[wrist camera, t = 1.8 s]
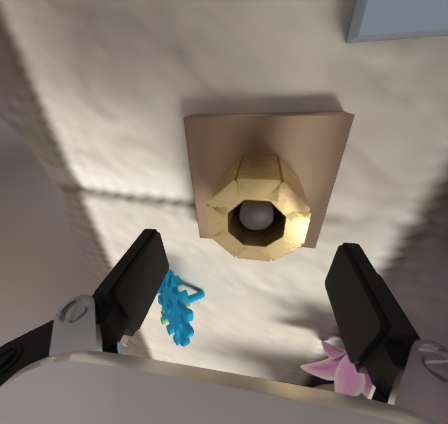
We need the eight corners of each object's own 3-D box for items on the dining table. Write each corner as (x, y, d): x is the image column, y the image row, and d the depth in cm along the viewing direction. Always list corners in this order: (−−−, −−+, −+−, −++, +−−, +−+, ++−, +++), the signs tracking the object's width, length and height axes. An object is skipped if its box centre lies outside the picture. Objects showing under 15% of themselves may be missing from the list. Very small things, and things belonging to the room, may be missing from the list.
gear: (164, 260, 25) (192, 343, 21) (202, 250, 29) (233, 319, 25) (147, 289, 32) (166, 354, 28) (180, 278, 36) (200, 335, 32)
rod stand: (344, 111, 14) (385, 124, 10) (311, 235, 21) (325, 281, 16) (191, 114, 16) (160, 127, 12) (204, 226, 23) (187, 265, 18)
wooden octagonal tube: (304, 154, 15) (319, 181, 11) (291, 224, 18) (298, 264, 14) (219, 153, 16) (203, 177, 12) (222, 219, 19) (211, 255, 15)
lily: (284, 320, 32) (299, 397, 28) (330, 317, 22) (365, 436, 18) (346, 315, 35) (369, 386, 30) (411, 311, 25) (463, 415, 20)
